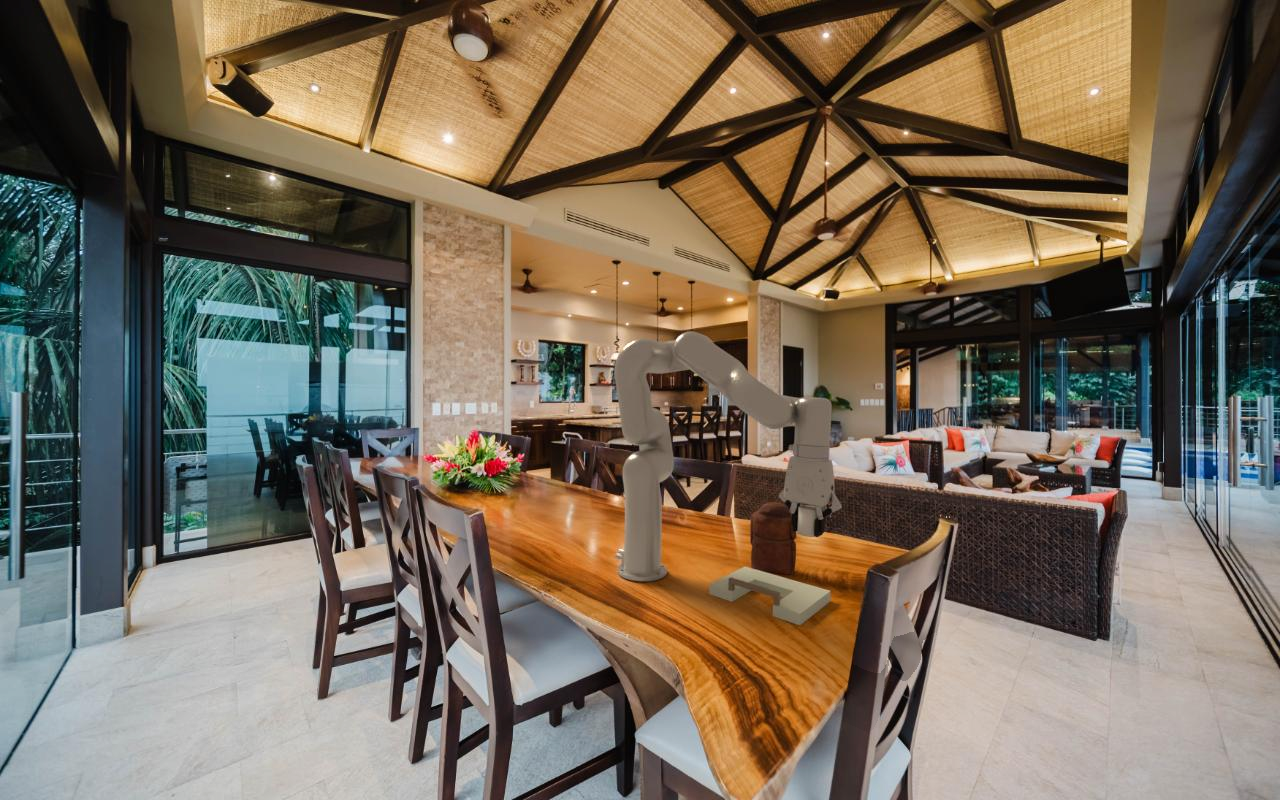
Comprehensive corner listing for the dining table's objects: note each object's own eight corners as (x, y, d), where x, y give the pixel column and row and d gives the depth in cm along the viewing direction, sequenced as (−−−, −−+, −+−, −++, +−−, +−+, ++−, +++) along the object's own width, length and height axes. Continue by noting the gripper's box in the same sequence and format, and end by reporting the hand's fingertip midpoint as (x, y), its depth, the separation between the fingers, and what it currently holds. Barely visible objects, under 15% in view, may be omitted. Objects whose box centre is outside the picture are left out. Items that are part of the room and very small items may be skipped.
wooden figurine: (794, 568, 134) (796, 501, 134) (795, 576, 128) (797, 506, 127) (749, 563, 137) (751, 498, 137) (748, 571, 131) (750, 503, 131)
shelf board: (709, 594, 116) (709, 572, 116) (744, 575, 128) (745, 556, 128) (799, 625, 101) (800, 601, 101) (830, 601, 113) (830, 579, 113)
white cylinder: (793, 533, 112) (795, 507, 112) (802, 529, 115) (803, 504, 115) (812, 538, 109) (814, 511, 109) (820, 534, 113) (822, 507, 112)
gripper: (769, 449, 115) (765, 528, 115) (843, 458, 103) (838, 546, 104) (783, 447, 120) (780, 522, 121) (856, 455, 109) (851, 538, 109)
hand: (807, 532), depth 112 cm, fingers closed on white cylinder, 4 cm apart
